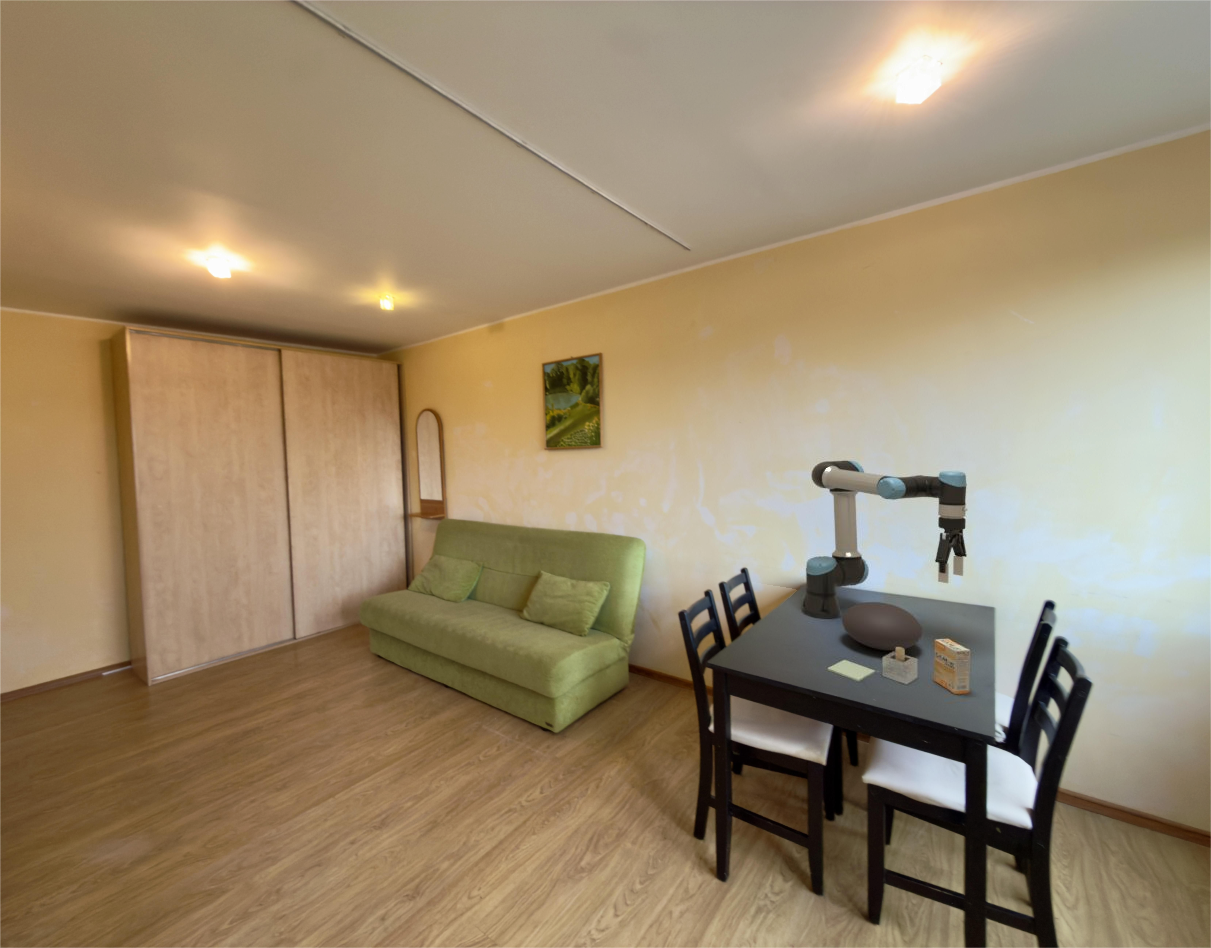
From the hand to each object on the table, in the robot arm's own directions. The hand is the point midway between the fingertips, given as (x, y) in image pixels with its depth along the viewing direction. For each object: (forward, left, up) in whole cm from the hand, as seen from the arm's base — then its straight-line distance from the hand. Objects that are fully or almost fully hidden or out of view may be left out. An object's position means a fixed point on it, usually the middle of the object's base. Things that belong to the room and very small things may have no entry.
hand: (950, 578), depth 167 cm
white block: (-2, -32, -26) cm, 41 cm away
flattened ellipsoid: (-17, -13, -26) cm, 33 cm away
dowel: (-2, -32, -26) cm, 41 cm away
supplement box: (+10, -27, -26) cm, 39 cm away
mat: (-13, -40, -26) cm, 49 cm away
